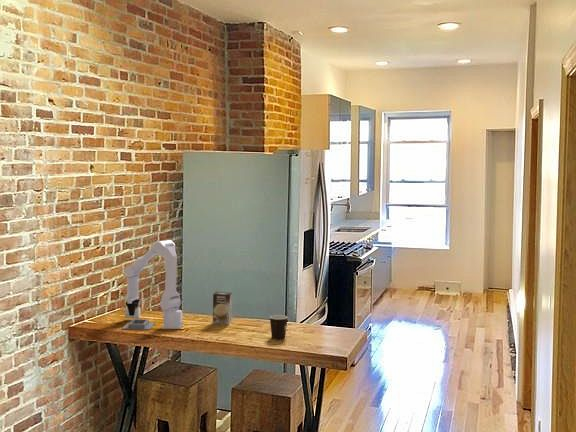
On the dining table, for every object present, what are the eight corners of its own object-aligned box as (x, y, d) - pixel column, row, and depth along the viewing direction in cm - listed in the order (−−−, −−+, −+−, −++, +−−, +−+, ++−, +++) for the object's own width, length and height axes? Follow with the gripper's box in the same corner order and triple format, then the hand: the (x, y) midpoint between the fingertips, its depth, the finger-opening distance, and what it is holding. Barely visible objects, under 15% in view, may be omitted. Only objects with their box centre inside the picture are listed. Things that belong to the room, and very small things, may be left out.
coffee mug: (277, 334, 322) (277, 314, 321) (290, 337, 316) (291, 317, 316) (261, 338, 313) (261, 318, 312) (275, 342, 308) (275, 321, 307)
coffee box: (211, 324, 339) (212, 293, 338) (214, 321, 345) (214, 291, 344) (229, 325, 338) (229, 294, 337) (231, 322, 344) (232, 292, 343)
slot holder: (155, 323, 338) (155, 318, 338) (149, 330, 325) (150, 325, 325) (128, 323, 338) (128, 318, 338) (121, 329, 325) (121, 324, 325)
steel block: (140, 316, 346) (140, 307, 346) (138, 318, 341) (138, 309, 341) (127, 316, 346) (127, 306, 346) (125, 318, 341) (125, 308, 341)
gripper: (128, 286, 350) (128, 311, 351) (121, 291, 335) (121, 317, 336) (141, 286, 350) (141, 311, 351) (135, 291, 335) (135, 317, 336)
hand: (132, 314), depth 344 cm, fingers closed on steel block, 4 cm apart
